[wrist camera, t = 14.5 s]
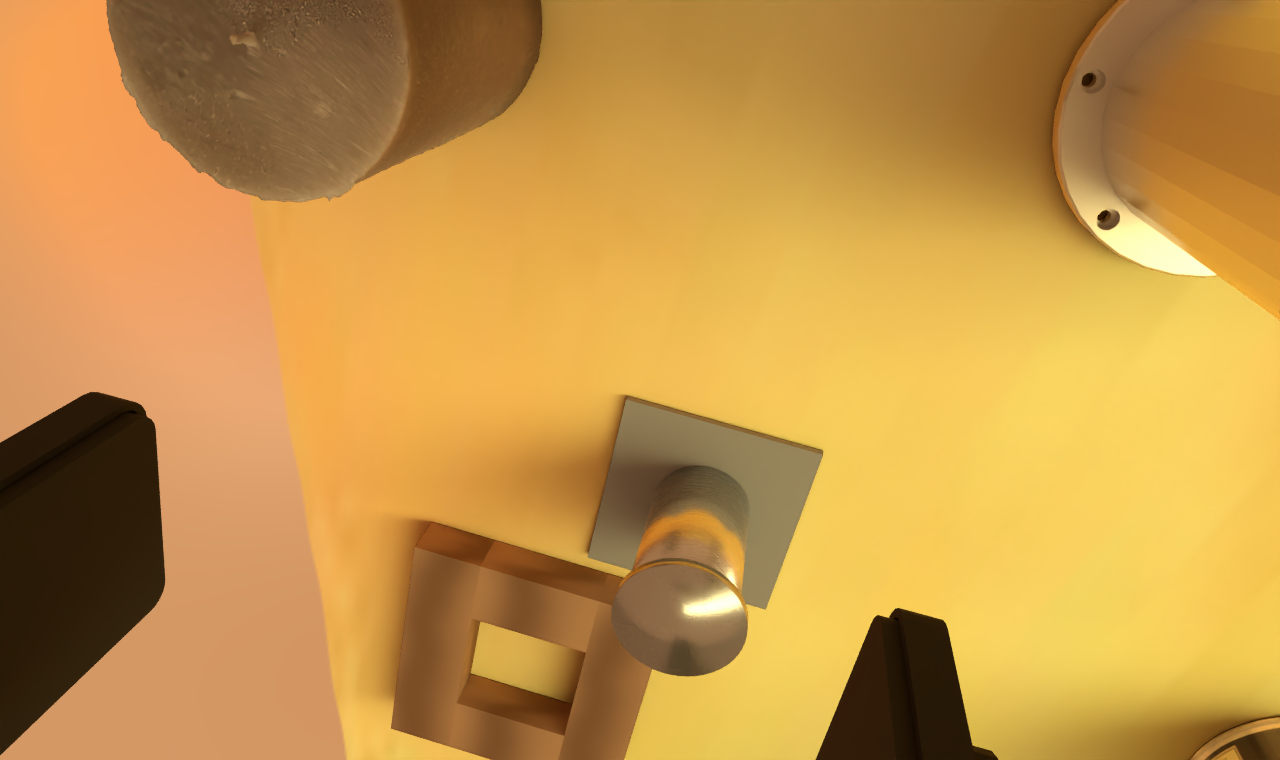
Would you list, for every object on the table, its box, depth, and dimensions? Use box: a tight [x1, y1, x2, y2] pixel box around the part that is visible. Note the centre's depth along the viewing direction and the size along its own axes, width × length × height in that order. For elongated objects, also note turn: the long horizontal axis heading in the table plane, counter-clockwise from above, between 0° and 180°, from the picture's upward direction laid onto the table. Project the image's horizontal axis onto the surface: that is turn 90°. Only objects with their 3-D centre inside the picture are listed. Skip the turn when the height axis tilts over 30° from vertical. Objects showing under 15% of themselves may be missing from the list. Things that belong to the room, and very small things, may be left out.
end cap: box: [611, 466, 750, 676], centre depth 41 cm, size 6×6×9 cm
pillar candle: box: [107, 0, 542, 202], centre depth 31 cm, size 10×10×15 cm
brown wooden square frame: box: [391, 522, 652, 760], centre depth 50 cm, size 14×14×2 cm
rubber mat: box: [588, 396, 823, 610], centre depth 45 cm, size 10×10×1 cm
